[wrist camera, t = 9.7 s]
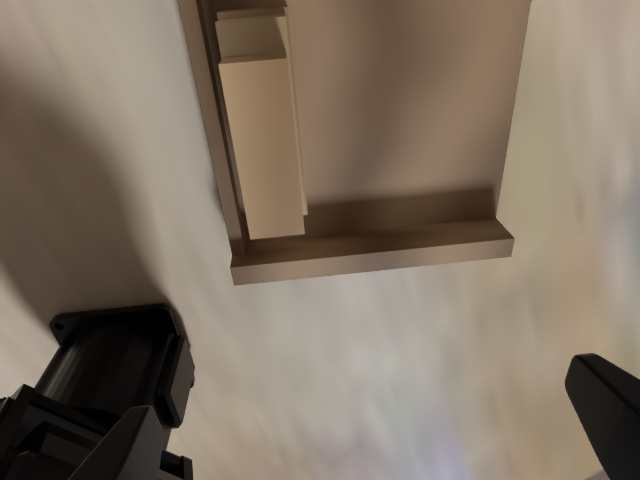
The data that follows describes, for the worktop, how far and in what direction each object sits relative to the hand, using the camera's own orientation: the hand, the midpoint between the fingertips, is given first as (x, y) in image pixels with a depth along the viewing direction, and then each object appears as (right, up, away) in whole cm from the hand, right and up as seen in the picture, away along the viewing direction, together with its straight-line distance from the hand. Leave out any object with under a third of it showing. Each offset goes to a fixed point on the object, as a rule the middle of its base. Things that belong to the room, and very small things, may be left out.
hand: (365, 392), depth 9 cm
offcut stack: (-3, +8, +9) cm, 12 cm away
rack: (+1, +9, +10) cm, 13 cm away
